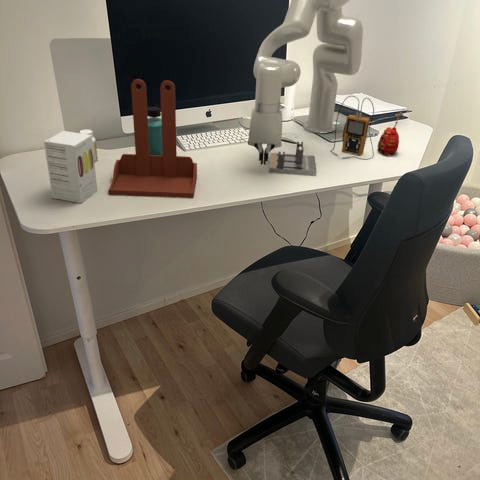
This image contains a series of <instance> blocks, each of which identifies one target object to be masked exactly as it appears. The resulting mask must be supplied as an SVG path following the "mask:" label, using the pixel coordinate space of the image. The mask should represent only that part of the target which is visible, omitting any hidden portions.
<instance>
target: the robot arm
mask: <svg viewBox="0 0 480 480" xmlns="http://www.w3.org/2000/svg"><path fill="white" fill-rule="evenodd" d="M348 2H350V0H291V1H290V3H289V6H288V9H287V12H286V15H285V18H284V21H283V22H282V24H280V25H279V26H278V27H276V28H275V29H274V30H273V31H272V32H270V33H269V34H268V35H267V36H266V38H264V40H263V41H262V43H261V45H260V47H259V49H258V52H257V54H256V58H255V61H254V64H253V76H254V77H255V79H256V81H255V82H256V83H255V84H256V85H255V98H254V99H255V100H254V108H252V110H251V113H250V114H251V115H250V120H249V129H248V140H247V145H248V146H250V147H251V146H252V147H254V148H255V149H256V150H257V152H258V161H259V162H260V166H261V165H264V166H266V164H267V163H266V162H269V153H271V151H272V150H274V149H278V148H281V147H282V145H283V144H282V135H283V112H282V109H285V106H286V105H285V103H282V102H281V96H282V88H288V87H292V86H294V85H296V84H297V82H298V81H299V79H300V78H301V66H300V65H299V64H298V63H297V62H296V61H293V60H288V59H283V58H278V57H272V56H273V54H274V53H275V52H276V50H278V49H279V48H280V47H282V46H283V45H285V44H288V43H292V42H296V41H298V40H300V39H303V38H306V37H307V36H308V35H309V34H310V33H311V29H312V27H313V24H314V21H315V17H316V36H317V39H318V41H319V42H321V44H319V45H317V46H316V47H315V48H314V51H313V54H312V70H313V71H312V72H313V74H312V84H311V93H310V99H309V100H310V102H309V108H308V109H309V111H308V117H307V118H308V120H307V121H305V122H304V123H303V125H302V126H303V130H305V131H307V132H309V133H314V134H319V133H320V132H330V131H333V130H335V128H336V129H337V125H336V124H333V122H334V114H335V108H336V99H337V94H338V93H337V92H338V85H339V83H338V80H337V78H336V75H335V74H339V75H345V76H355V75H356V74H357V73H358V72H359V70H360V67H361V63H362V53H363V39H364V37H363V36H364V35H363V34H364V28H363V24H362V21H361V20H360V19H359V18H357V17H354V16H345V15H343V14H342V13H343V11H342V9H343V6H345V5H346V4H347V3H348ZM263 145H266V147H265V149H264V148H263Z"/></svg>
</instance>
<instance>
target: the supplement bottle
mask: <svg viewBox="0 0 480 480" xmlns="http://www.w3.org/2000/svg"><path fill="white" fill-rule="evenodd" d="M78 133H81V134H88V135H92V143H93V153H94V162H95V163H96V162H97V161H98V151H97V141H96V138H95V137H94V132H93V130H91V129H81V130H80V131H79V132H78Z"/></svg>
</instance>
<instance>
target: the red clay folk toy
mask: <svg viewBox="0 0 480 480" xmlns="http://www.w3.org/2000/svg"><path fill="white" fill-rule="evenodd" d="M401 115H402V111H401V110H400V112H399V113H396V114H395V117H397V119H396V121H395V124H394V126H393V127H390V126H389V127H386V129H384V131H383V133H382V134H381V135H380V138H379V140H378V143H377V152H379V154H381V155H382V156H384V157H389V156H394V155H395V154H396V153H397V152H398V149H399V143H400V135H399V132H398V131H397V128H396V126H397V125H398V120H399V118H400V116H401Z"/></svg>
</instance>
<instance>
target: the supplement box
mask: <svg viewBox="0 0 480 480" xmlns="http://www.w3.org/2000/svg"><path fill="white" fill-rule="evenodd" d="M92 137H93V136H92V135H88V134H81V133H79V132H73V131H67V130H61V131H60V132H58V133H57V134H55V135H53V136H52V137H50V138H47V139H46V140H44V141H43V146H44V150H45V151H44V152H45V157H46V159H45V160H46V164H47V169H48V177H49V183H50V184H49V185H50V189H51V195H52V199H56V200H62V201H68V202H73V203H79V204H82V203H83V202H85V201H86V200H87V199H88V198H90V197H91V196H92V195H93V194H95V193H96V192H97V191H98V182H97V175H96V164H95V163H96V162H94V153H93V143H92Z"/></svg>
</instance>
